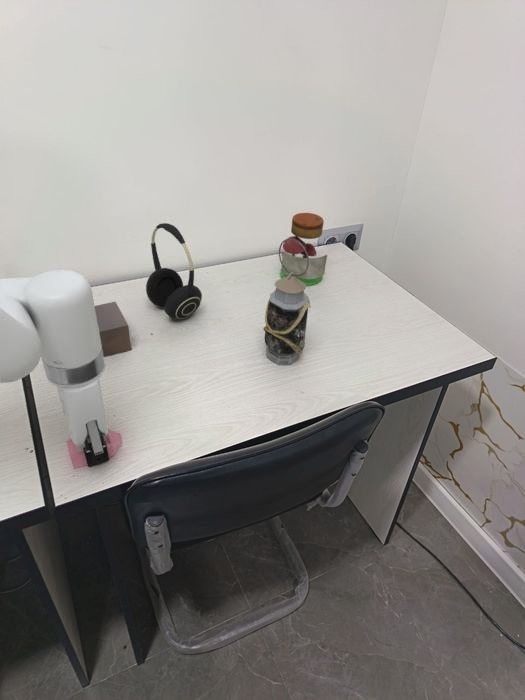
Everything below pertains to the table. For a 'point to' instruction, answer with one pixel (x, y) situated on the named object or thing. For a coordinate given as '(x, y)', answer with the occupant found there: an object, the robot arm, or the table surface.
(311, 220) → the brown red grey stack
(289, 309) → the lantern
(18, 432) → the table surface
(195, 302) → the headphones
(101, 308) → the block
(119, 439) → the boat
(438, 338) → the table surface
